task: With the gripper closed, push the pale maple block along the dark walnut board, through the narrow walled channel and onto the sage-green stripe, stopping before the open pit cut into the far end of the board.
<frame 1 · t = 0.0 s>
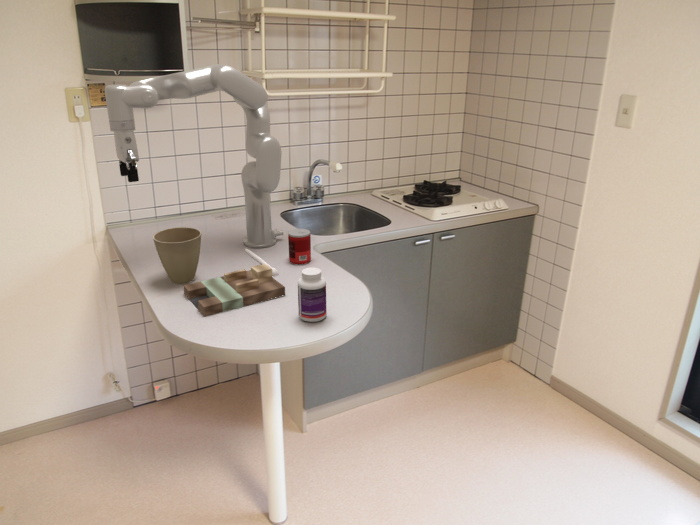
hand: (129, 178, 187), 31 cm above the worktop, tool pointing down, fingers open, 9 cm apart
pill bottle: (312, 317, 165), on the worktop
block: (261, 279, 182), point 3 cm above the worktop, touching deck
white knobbed rod: (258, 264, 203), on the worktop
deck: (234, 294, 178), on the worktop
canned food: (300, 261, 205), on the worktop
plant pot: (182, 280, 188), on the worktop
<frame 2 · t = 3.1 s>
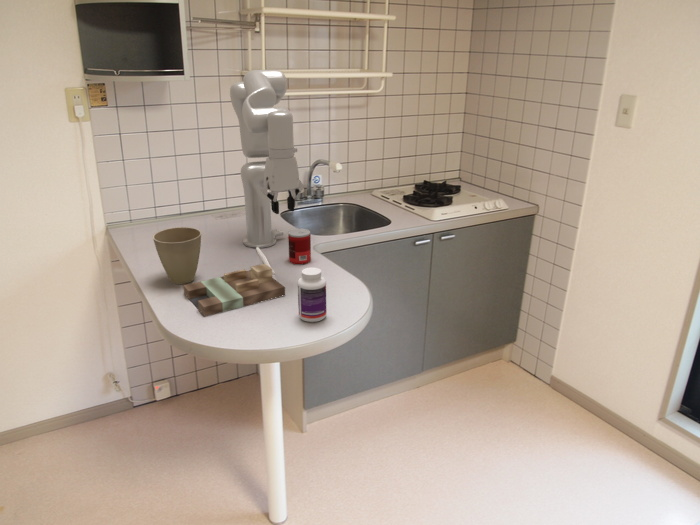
hand: (283, 211, 178), 24 cm above the worktop, tool pointing down, fingers open, 4 cm apart
white knobbed rod: (262, 263, 204), on the worktop
everything else where it was.
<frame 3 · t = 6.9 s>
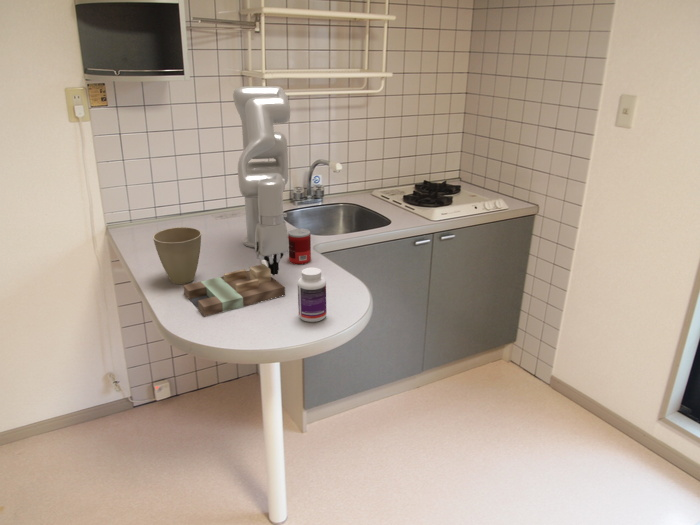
hand: (273, 273, 184), 4 cm above the worktop, tool pointing down, fingers closed
block: (260, 279, 182), point 3 cm above the worktop, touching gripper
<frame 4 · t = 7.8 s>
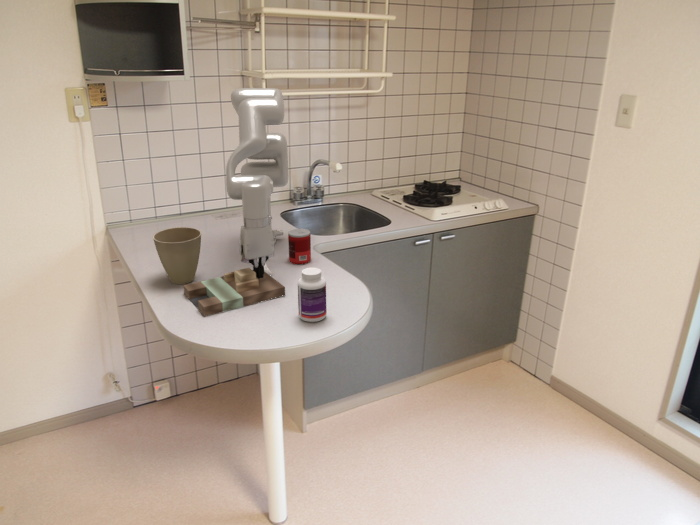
hand: (259, 276, 181), 4 cm above the worktop, tool pointing down, fingers closed
block: (245, 283, 179), point 3 cm above the worktop, touching gripper
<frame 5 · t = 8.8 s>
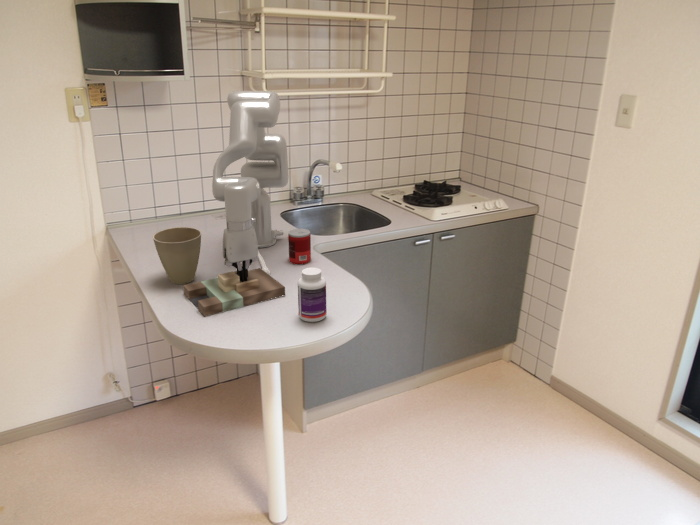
hand: (242, 280, 178), 4 cm above the worktop, tool pointing down, fingers closed
block: (229, 287, 176), point 3 cm above the worktop, touching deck, gripper
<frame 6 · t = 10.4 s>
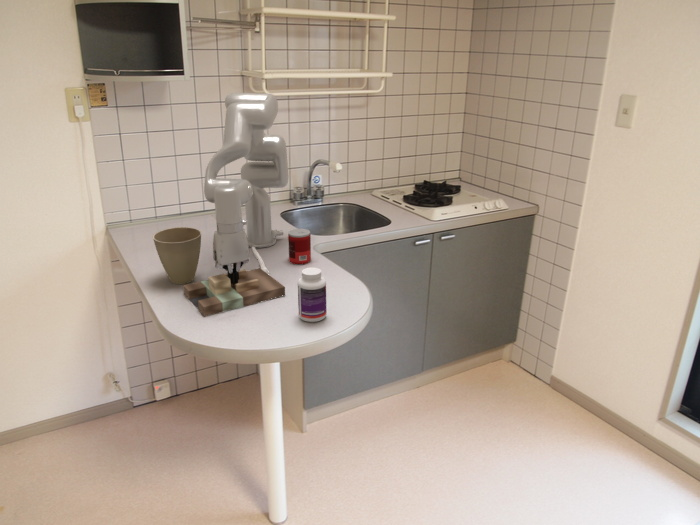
hand: (233, 282, 177), 4 cm above the worktop, tool pointing down, fingers closed
block: (220, 290, 174), point 3 cm above the worktop, touching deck, gripper
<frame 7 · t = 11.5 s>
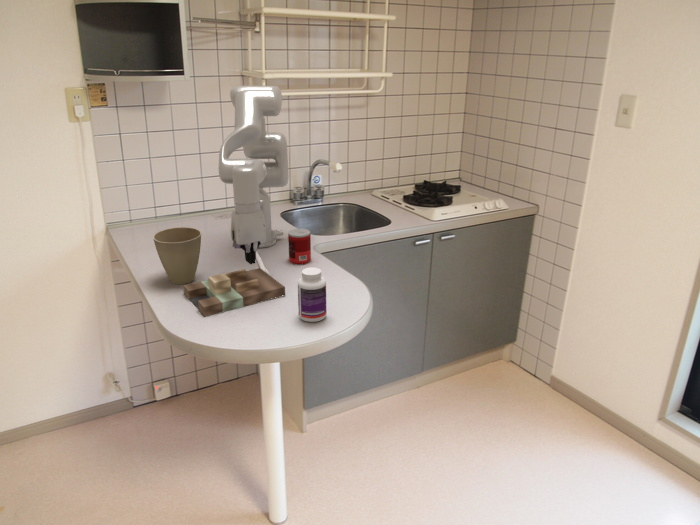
hand: (250, 262, 178), 9 cm above the worktop, tool pointing down, fingers closed
block: (220, 290, 174), point 3 cm above the worktop, touching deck
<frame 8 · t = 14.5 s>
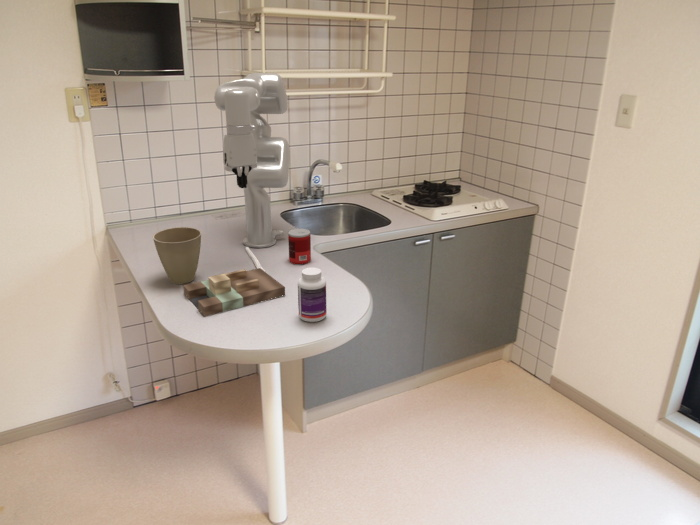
hand: (242, 187, 186), 29 cm above the worktop, tool pointing down, fingers closed
white knobbed rod: (252, 262, 204), on the worktop
everything else where it was.
at the end: block 0.6 cm from the target spot on the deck, point 3.0 cm above the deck's base; block tilted 0°; block moved 14.2 cm from its start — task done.
